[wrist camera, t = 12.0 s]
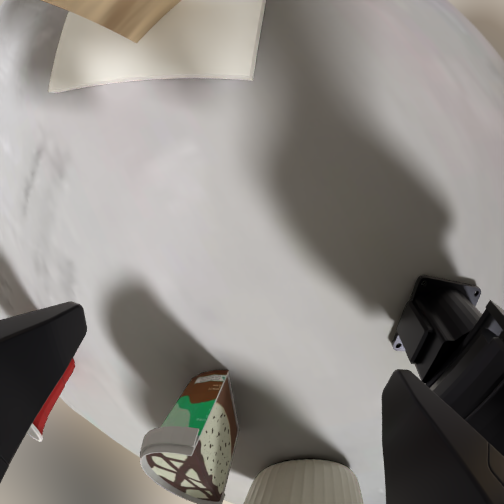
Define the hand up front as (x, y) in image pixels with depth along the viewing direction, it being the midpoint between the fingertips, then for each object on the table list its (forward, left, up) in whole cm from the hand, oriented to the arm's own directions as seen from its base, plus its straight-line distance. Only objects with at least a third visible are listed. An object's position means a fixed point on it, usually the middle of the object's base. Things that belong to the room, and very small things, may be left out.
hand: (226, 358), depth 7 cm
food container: (+4, +18, -13) cm, 23 cm away
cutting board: (+12, -17, -13) cm, 24 cm away
